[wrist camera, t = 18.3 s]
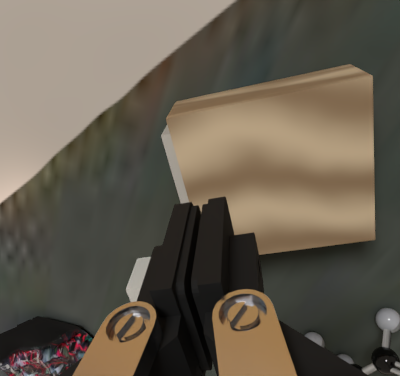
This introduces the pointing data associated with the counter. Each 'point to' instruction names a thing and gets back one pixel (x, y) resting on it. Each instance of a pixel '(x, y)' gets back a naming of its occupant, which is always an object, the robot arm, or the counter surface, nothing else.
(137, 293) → the block
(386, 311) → the molecular model
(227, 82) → the counter surface
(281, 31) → the counter surface
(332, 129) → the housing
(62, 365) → the fabric swatch
